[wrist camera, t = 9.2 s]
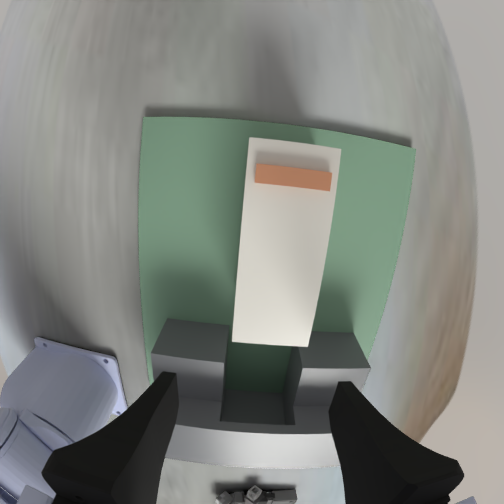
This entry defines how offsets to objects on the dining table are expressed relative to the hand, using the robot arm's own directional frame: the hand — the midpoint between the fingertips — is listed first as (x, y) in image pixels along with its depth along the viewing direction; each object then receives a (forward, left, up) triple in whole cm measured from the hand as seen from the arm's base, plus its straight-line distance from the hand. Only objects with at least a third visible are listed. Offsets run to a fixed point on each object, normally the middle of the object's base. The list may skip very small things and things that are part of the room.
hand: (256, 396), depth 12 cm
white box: (+1, +6, -10) cm, 11 cm away
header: (+1, -6, -10) cm, 11 cm away
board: (+1, +1, -10) cm, 10 cm away
